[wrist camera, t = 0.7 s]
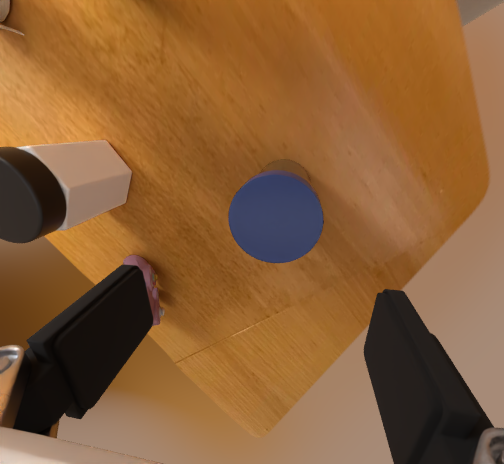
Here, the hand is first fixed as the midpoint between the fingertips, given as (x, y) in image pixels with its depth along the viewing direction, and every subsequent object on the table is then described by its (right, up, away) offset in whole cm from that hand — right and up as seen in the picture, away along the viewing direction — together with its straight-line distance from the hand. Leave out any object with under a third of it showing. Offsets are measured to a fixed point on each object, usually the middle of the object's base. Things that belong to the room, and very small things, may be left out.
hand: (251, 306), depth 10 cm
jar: (-19, +10, +22) cm, 31 cm away
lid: (+2, +4, +8) cm, 9 cm away
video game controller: (-15, -5, +27) cm, 31 cm away
